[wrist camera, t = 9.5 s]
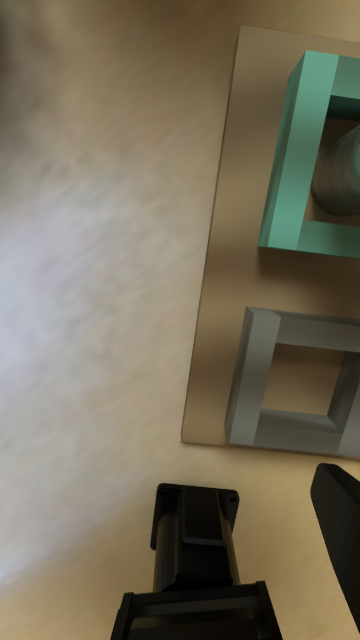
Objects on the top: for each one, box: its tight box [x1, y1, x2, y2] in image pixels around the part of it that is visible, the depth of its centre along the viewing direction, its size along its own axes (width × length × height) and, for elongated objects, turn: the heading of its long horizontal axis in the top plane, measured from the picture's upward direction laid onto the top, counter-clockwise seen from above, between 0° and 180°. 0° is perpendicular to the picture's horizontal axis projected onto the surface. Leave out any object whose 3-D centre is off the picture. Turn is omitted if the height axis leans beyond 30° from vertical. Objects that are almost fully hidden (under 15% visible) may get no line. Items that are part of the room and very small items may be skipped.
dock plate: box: [181, 25, 360, 460], centre depth 16 cm, size 24×14×3 cm, turn 173°
